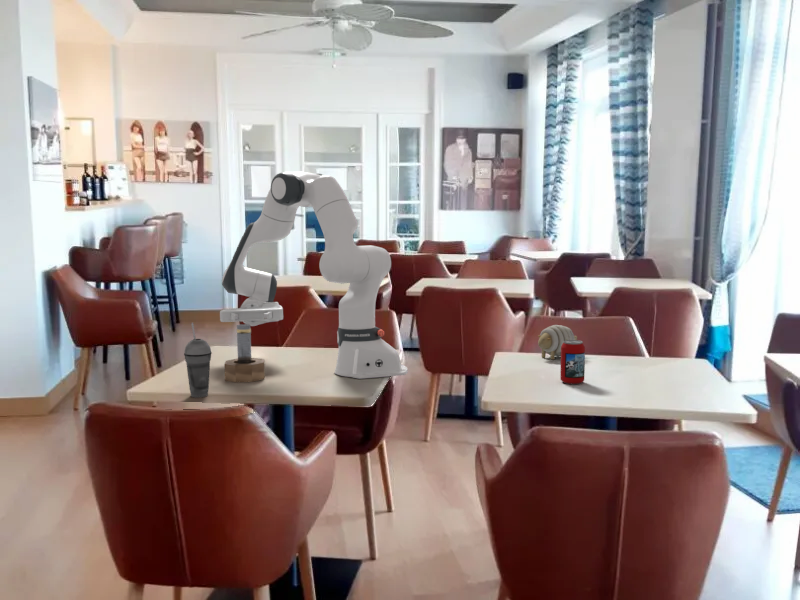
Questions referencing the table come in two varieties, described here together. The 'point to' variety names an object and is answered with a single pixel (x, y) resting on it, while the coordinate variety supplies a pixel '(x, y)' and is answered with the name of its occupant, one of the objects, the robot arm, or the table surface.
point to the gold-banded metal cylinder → (244, 343)
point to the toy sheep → (554, 339)
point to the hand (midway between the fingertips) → (250, 317)
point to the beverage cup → (198, 366)
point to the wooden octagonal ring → (244, 370)
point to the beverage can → (572, 362)
